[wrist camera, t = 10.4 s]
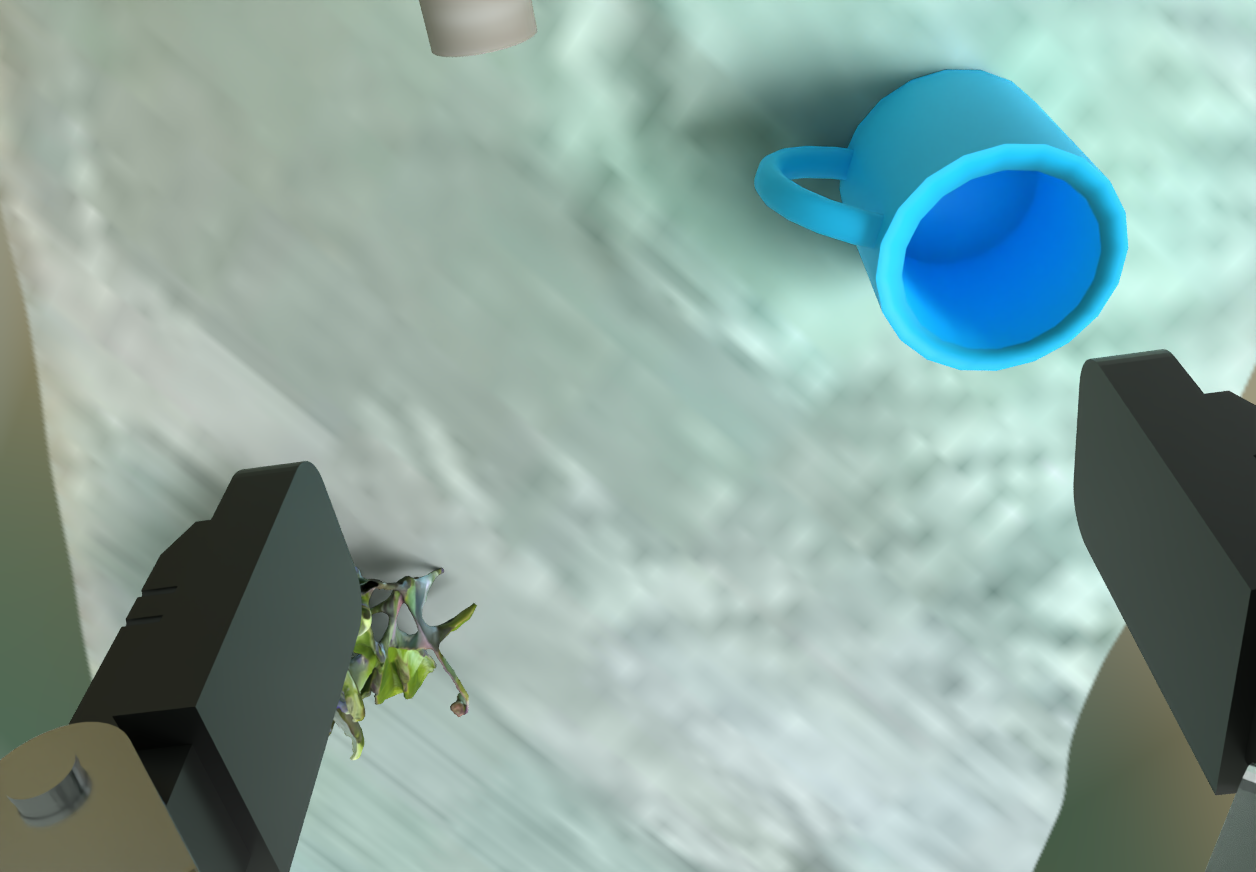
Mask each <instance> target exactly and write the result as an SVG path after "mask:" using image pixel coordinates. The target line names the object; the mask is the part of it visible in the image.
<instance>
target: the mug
mask: <svg viewBox="0 0 1256 872" xmlns="http://www.w3.org/2000/svg"><path fill="white" fill-rule="evenodd" d="M800 178H823V179H837V180H840V188H839V190H840V194H841V199H842V203H840V202H837V201H834V200H831V199H828V198H826V197H824V196H821V195H819V194H817V193H814V192H812V191H810V190H807V189H805V188H803V187H801V186H800V185H798V184H796V183H795V182H793V181H792V180H793V179H800ZM754 185H755V189H756V191H757V193H758V194H759V196H760V197H761V198H762V200H763V201H764V203H765V204H766V205H767V206H768V207H769V208H771V209H772V210H774V211H775V212H777V213H778V214H780V215H781V216H783V217H784V218H786V219H787V220H789V221H791V222H794V223H796V224H798V225H800V226H803V227H805V228H807V229H809V230H812V231H814V232H816V233H818V234H822V235H825V236H828V237H831V238H834V239H837V240H841V241H844V242H847V243H850V244H853V245H856V246H857V248H858V251H859V254H860V256H861V259H862V261H863V264H864V266H865V269H866V271H867V274H868V277H869V279H870V282H871V284H872V287H873V289H874V292H875V295H876V297H877V300H878V302H879V305H880V307H881V310H882V312H883V314H884V316H885V317H886V319H887V320H888V322H889V323H890V325H891V326H892V328H893V329H894V331H895V332H896V334H897V336H898V337H899V339H900V340H901V341H903V342H904V343H905V344H907V345H908V346H909V347H911V348H912V349H913V350H915V351H916V352H918V353H919V354H920V355H922V356H923V357H924V358H926V359H927V360H930V361H933V362H937V363H940V364H943V365H946V366H949V367H952V368H955V369H959V370H992V371H997V370H1001V369H1005V368H1009V367H1013V366H1017V365H1021V364H1025V363H1029V362H1033V361H1035V360H1037V359H1039V358H1041V357H1043V356H1045V355H1047V354H1049V353H1050V352H1052V351H1054V350H1056V349H1058V348H1060V347H1062V346H1063V345H1065V344H1067V343H1069V342H1070V341H1071V340H1072V339H1073V338H1074V337H1075V336H1077V335H1078V334H1079V333H1080V332H1081V331H1082V330H1083V329H1084V328H1085V327H1086V326H1088V325H1089V324H1090V323H1091V322H1092V321H1093V320H1094V319H1095V318H1096V317H1097V316H1098V315H1099V313H1100V312H1101V310H1102V309H1103V307H1104V306H1105V304H1106V302H1107V301H1108V299H1109V298H1110V296H1111V295H1112V293H1113V291H1114V290H1115V288H1116V287H1117V285H1118V283H1119V280H1120V276H1121V272H1122V269H1123V265H1124V261H1125V258H1126V254H1127V250H1128V238H1127V225H1126V212H1125V210H1124V208H1123V206H1122V204H1121V202H1120V200H1119V198H1118V196H1117V194H1116V192H1115V190H1114V188H1113V186H1112V184H1111V182H1110V181H1109V180H1108V179H1107V177H1106V176H1105V175H1104V174H1103V173H1102V172H1101V171H1100V170H1099V169H1098V168H1097V167H1096V166H1095V165H1094V164H1093V163H1092V162H1091V161H1090V159H1089V158H1088V157H1087V156H1086V155H1085V154H1084V153H1083V152H1082V151H1081V150H1080V149H1079V148H1078V147H1077V146H1076V145H1075V144H1074V143H1073V141H1072V140H1071V139H1070V138H1069V137H1068V136H1067V135H1066V134H1065V133H1064V132H1063V131H1062V130H1061V129H1060V128H1059V127H1058V126H1057V125H1056V123H1055V122H1054V121H1053V120H1052V119H1051V118H1050V117H1049V116H1048V115H1047V114H1046V113H1045V112H1044V111H1043V110H1042V109H1041V108H1040V107H1039V105H1038V104H1037V103H1036V102H1035V101H1034V100H1032V99H1031V98H1030V97H1029V96H1028V95H1027V94H1025V93H1024V92H1023V91H1022V90H1021V89H1020V88H1019V87H1017V86H1016V85H1015V84H1014V83H1013V82H1012V81H1009V80H1007V79H1004V78H1001V77H998V76H996V75H993V74H990V73H988V72H985V71H982V70H951V69H946V70H942V71H939V72H936V73H932V74H929V75H926V76H922V77H919V78H915V79H912V80H910V81H909V82H907V83H906V84H904V85H902V86H901V87H899V88H898V89H896V90H895V91H893V92H892V93H890V94H888V95H887V96H885V97H884V98H882V99H881V100H880V101H879V102H878V103H877V104H876V106H875V107H874V108H873V109H872V110H871V111H870V112H869V114H868V115H867V116H866V117H865V118H864V119H863V120H862V122H861V123H860V124H859V125H858V126H857V128H856V130H855V133H854V135H853V137H852V139H851V141H850V143H849V146H848V148H841V147H827V146H800V147H791V148H783V149H780V150H778V151H776V152H774V153H771V154H769V155H767V156H765V157H764V158H763V159H762V161H761V162H760V164H759V167H758V169H757V172H756V175H755V180H754Z"/></svg>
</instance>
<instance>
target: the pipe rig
mask: <svg viewBox="0 0 1256 872" xmlns="http://www.w3.org/2000/svg"><path fill="white" fill-rule="evenodd" d="M419 2H420V6H421V10H422V14H423V18H424V22H425V26H426V30H427V34H428V38H429V42H430V46H431V50H432V53H433V54H435V55H437V56H442V57H464V56H473V55H479V54H485V53H489V52H494V51H498V50H502V49H505V48H508V47H511V46H514V45H517V44H519V43H522V42H524V41H526V40H528V39H530V38H531V37H533V36H534V35H535V34H536V33H537V26H536V21H535V16H534V11H533V6H532V1H531V0H419Z"/></svg>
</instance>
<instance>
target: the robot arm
mask: <svg viewBox="0 0 1256 872" xmlns="http://www.w3.org/2000/svg"><path fill="white" fill-rule="evenodd" d="M1074 504H1075V511H1076V516H1077V521H1078V525H1079V529H1080V532H1081V535H1082V538H1083V541H1084V543H1085V545H1086V547H1087V549H1088V551H1089V553H1090V555H1091V557H1092V559H1093V561H1094V563H1095V565H1096V567H1097V569H1098V571H1099V572H1100V574H1101V576H1102V578H1103V580H1104V582H1105V584H1106V586H1107V588H1108V590H1109V592H1110V594H1111V596H1112V597H1113V599H1114V601H1115V603H1116V605H1117V607H1118V609H1119V611H1120V613H1121V615H1122V617H1123V619H1124V621H1125V622H1126V624H1127V626H1128V628H1129V630H1130V632H1131V634H1132V636H1133V638H1134V639H1135V642H1136V643H1137V646H1138V647H1139V649H1140V651H1141V653H1142V655H1143V657H1144V659H1145V661H1146V663H1147V664H1148V666H1149V669H1150V670H1151V672H1152V674H1153V676H1154V678H1155V680H1156V682H1157V684H1158V686H1159V688H1160V689H1161V692H1162V694H1163V695H1164V697H1165V699H1166V701H1167V703H1168V705H1169V707H1170V709H1171V711H1172V713H1173V715H1174V717H1175V718H1176V720H1177V722H1178V724H1179V726H1180V728H1181V730H1182V732H1183V734H1184V736H1185V738H1186V740H1187V742H1188V743H1189V745H1190V747H1191V749H1192V751H1193V753H1194V755H1195V757H1196V759H1197V761H1198V762H1199V765H1200V766H1201V768H1202V770H1203V772H1204V774H1205V776H1206V778H1207V780H1208V782H1209V784H1210V786H1211V788H1212V790H1213V791H1214V793H1215V795H1222V794H1231V793H1236V795H1235V798H1234V800H1233V803H1232V805H1231V808H1230V810H1229V813H1228V815H1227V818H1226V821H1225V823H1224V826H1223V828H1222V830H1221V833H1220V835H1219V838H1218V841H1217V843H1216V846H1215V848H1214V850H1213V853H1212V855H1211V858H1210V860H1209V863H1208V866H1207V868H1206V870H1205V872H1256V405H1254V404H1252V403H1250V402H1248V401H1247V400H1245V399H1243V398H1241V397H1239V396H1238V395H1236V394H1234V393H1232V392H1230V391H1223V392H1215V393H1207V394H1204V393H1203V392H1202V391H1201V389H1200V388H1199V387H1198V386H1197V384H1196V383H1195V382H1194V381H1193V379H1192V378H1191V377H1190V376H1189V374H1188V373H1187V372H1186V370H1185V369H1184V368H1183V367H1182V365H1181V364H1180V363H1179V362H1178V360H1177V359H1176V358H1175V357H1174V356H1173V355H1172V353H1171V352H1169V351H1168V350H1164V349H1162V350H1154V351H1147V352H1139V353H1131V354H1124V355H1116V356H1109V357H1101V358H1094V359H1089V360H1087V361H1086V362H1085V363H1084V365H1083V368H1082V371H1081V376H1080V385H1079V401H1078V418H1077V434H1076V451H1075V467H1074ZM141 591H142V597H138V598H137V599H136V601H135V603H134V605H133V607H132V609H131V610H130V612H129V614H128V616H127V618H126V626H125V627H121V629H120V631H119V633H118V634H117V636H116V638H115V640H114V642H113V644H112V645H111V647H110V649H109V651H108V653H107V655H106V656H105V658H104V660H103V662H102V664H101V666H100V668H99V669H98V671H97V673H96V675H95V677H94V679H93V680H92V682H91V684H90V686H89V688H88V690H87V692H86V693H85V695H84V697H83V699H82V701H81V703H80V704H79V706H78V708H77V710H76V712H75V714H74V715H73V717H72V719H71V721H70V723H69V725H66V726H62V727H58V728H56V729H53V730H50V731H48V732H45V733H43V734H41V735H39V736H37V737H34V738H32V739H31V740H29V741H27V742H25V743H24V744H22V745H20V746H19V747H17V748H15V749H14V750H13V751H11V752H10V753H9V754H7V755H6V756H5V757H3V758H2V759H1V760H0V872H289V871H290V867H291V864H292V860H293V857H294V853H295V850H296V847H297V843H298V840H299V836H300V833H301V829H302V826H303V822H304V819H305V816H306V812H307V809H308V805H309V802H310V798H311V795H312V791H313V788H314V785H315V781H316V778H317V774H318V771H319V767H320V764H321V760H322V757H323V754H324V750H325V747H326V743H327V740H328V736H329V733H330V729H331V726H332V723H333V719H334V716H335V712H336V709H337V705H338V702H339V698H340V695H341V692H342V688H343V685H344V681H345V678H346V674H347V671H348V668H349V664H350V661H351V657H352V654H353V650H354V647H355V643H356V640H357V637H358V633H359V629H360V624H361V615H362V600H361V590H360V584H359V579H358V575H357V572H356V569H355V566H354V563H353V560H352V558H351V555H350V552H349V550H348V547H347V544H346V542H345V539H344V536H343V534H342V531H341V528H340V525H339V523H338V520H337V517H336V515H335V512H334V509H333V507H332V504H331V501H330V499H329V496H328V493H327V491H326V488H325V485H324V482H323V480H322V478H321V475H320V473H319V472H318V470H317V468H316V467H315V466H314V465H313V464H312V463H311V462H308V461H303V462H296V463H288V464H281V465H273V466H266V467H258V468H251V469H243V470H240V471H238V472H237V473H235V475H234V476H233V478H232V480H231V481H230V483H229V485H228V487H227V489H226V491H225V493H224V495H223V497H222V499H221V501H220V503H219V505H218V507H217V509H216V511H215V513H214V515H213V517H212V519H211V520H206V521H199V522H195V523H194V524H193V525H192V526H191V527H190V528H189V529H188V530H187V531H186V532H185V533H183V534H182V535H181V536H180V537H179V538H178V539H177V540H176V541H175V542H174V543H173V544H172V545H171V546H170V547H169V548H168V549H166V550H165V551H164V552H163V553H162V554H161V555H160V557H159V559H158V561H157V562H156V564H155V566H154V568H153V570H152V572H151V574H150V575H149V577H148V579H147V581H146V583H145V585H144V586H143V588H142V590H141Z"/></svg>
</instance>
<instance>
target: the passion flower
mask: <svg viewBox="0 0 1256 872" xmlns="http://www.w3.org/2000/svg"><path fill="white" fill-rule="evenodd" d="M355 569H356V572H357V575H358V579H359V584H360V590H361V600H362V615H361V624H360V629H359V633H358V637H357V640H356V643H355V647H354V650H353V652H354V653H358V654H359V655H357V656H355V657H353V658H351V661H350V664H349V668H348V671H347V674H346V678H345V681H344V685H343V688H342V692H341V695H340V698H339V702H338V705H337V709H336V712H335V716H334V719H333V723H332V726H331V729H330V733H329V736H330V734H331V732H332V729H333V726H334V723H335V722H336V724H337V725H338V726H339V727H340V728H341V729H342V730H343V731H344V732H345V735H346V736H349V737H351V738H352V745H353V749H352V750H353V752H354V753H353V755H352V756H351V757H350V759H351V760H356V759H358V758H359V757H360V755H361V752H362V749H363V746H364V737H363V733H362V729H361V727H360V725H359V723H358V721H362V720H363V719H364V717H365V708H364V704H363V700H362V699H364V698H365V697H368V696H370V695H371V691H372V692H373V693H375V695H374V697H375V702H376V703H375V704H377V705H378V704H381V703H383V701H384V700H385V699H388V698H390V697H392V696H395V695H397V694H399V693H403V692H404V697H405V699H411V698H412V697H413V696H414V695H415V693H416V692H417V690H418V689H419V687H420V686H421V685H422V683H423V681H424V679H425V678H426V676H427V674H428V673H430V672H433V671H434V668H436V663H435V662H434V660H433V659H432V657H431V656H430V655H428V654H427V651H426V650H424V649H432V650H433V651H434V652H435V654H436V656H437V658H438V659H439V661H440V662H441V664H442V665H443V667H444V669H445V671H446V672H447V673H448V674H449V675H450V676H451V678H452V680H453V682H454V683H455V685H456V687H457V689H458V690H459V692H460V693H459V694H458V696H457V701H456V702H454V703H453V704H452V705H451V706H450V708H451V711H453V712H454V714H456V715H457V716H458V717H460V716H462V715H465V714H466V713H467V712H468V709H469V700H468V694H467V692H466V691H465V689H464V687H463V686H462V684H461V682H460V680H459V679H458V677H457V676H456V674H455V672H454V670H453V669H452V668H451V666H450V665H449V664H448V662H447V661H446V659H445V658H444V657H443V655H442V654H441V652H440V651H439V644H440V642H441V641H442V640H443V639H444V638H445V637H446V636H447V635H448V634H449V633H450V632H451V631H455V630H457V629H458V628H459V627H460V626H461V625H462V624H463V623H465V622H466V621H468V620H469V619H470V617H471V616H472V614H473V612H474V610H475V608H476V606H477V605H476V604H475V603H473V604H472V605H471V606H470V607H468V608H466V609H465V610H463V611H462V612H461V613H459V614H458V615H457V616H455V617H454V618H452V619H450V620H448V621H447V622H445V623H443V624H441V625H438V626H428V625H427V624H426V623H425V622H424V620H423V619H422V609H423V605H424V603H425V602H426V599H427V594H428V591H429V589H430V587H431V585H432V583H433V581H434V580H435V579H436V577H437V576H438V575H440V574H442V573H444V569H443V568H440V569H439V570H435V571H433V572H431V573H429V574H428V575H426V576H423V577H420V578H419V577H414V578H412V577H410V576H405V577H404V578H402V579H400V580H399V581H398V582H397V583H385V582H382V581H380V580H376V579H365V578H363V577H362V576H361V573H360V570H359V569H358V567H356V566H355ZM375 588H378V589H379V590H380V589H384V590H393V592H392V594H391V596H390V597H389V598H388V599H387V600H385V601H384V602H382V603H380V604H379V605H377V606H375V607H373V608H371V609H370V608H369V599H370V597H371V595H372V592H373V590H374V589H375ZM403 603H405V604H406V605H407V606H408V609H409V611H410V612H411V614H412V616H413V618H414V620H415V622H416V624H417V628H418V632H417V633H416V634H412V635H408V634H406V633H405V632H403V631H401V630H399V628H398V626H397V621H396V619H397V615H398V612H399V609H400V607H401V605H402V604H403ZM379 612H384V613H386V614H387V615H388V616H389V624H388V628H387V630H386V632H385V634H384V636H383V638H382V639H381V641H380V642H379V643H378V642H376V641H375V640H374V638H373V631H372V628H371V626H370V625H371V621H372V616H371V615H373V614H375V613H379ZM360 692H361V693H360Z"/></svg>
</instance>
